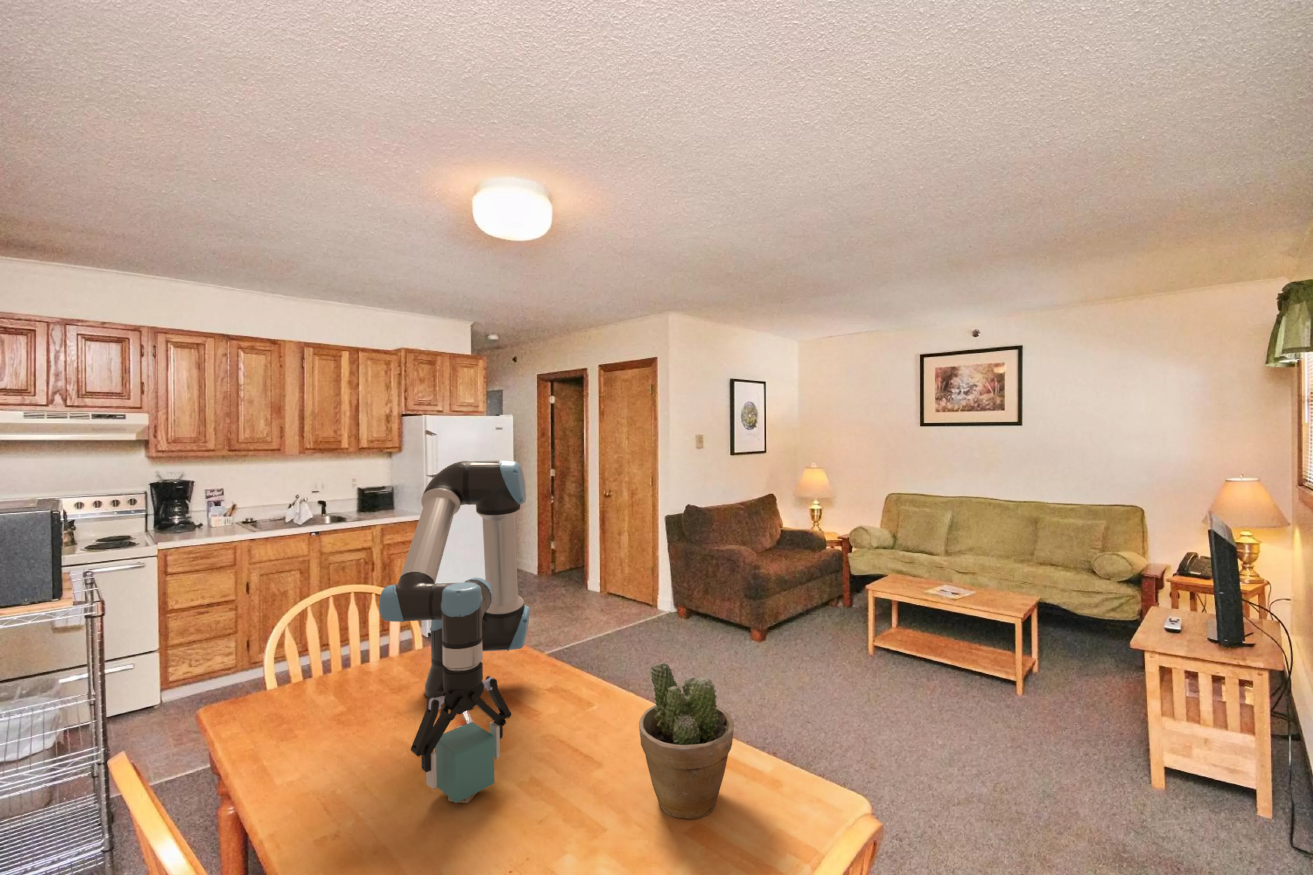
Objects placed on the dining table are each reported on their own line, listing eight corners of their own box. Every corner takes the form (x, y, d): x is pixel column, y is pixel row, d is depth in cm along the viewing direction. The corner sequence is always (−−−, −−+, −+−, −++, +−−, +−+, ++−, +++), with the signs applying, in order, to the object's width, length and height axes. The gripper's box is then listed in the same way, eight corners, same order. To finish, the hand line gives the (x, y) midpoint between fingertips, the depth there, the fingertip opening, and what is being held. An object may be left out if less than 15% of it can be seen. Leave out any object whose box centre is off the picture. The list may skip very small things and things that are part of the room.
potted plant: (743, 782, 118) (742, 660, 118) (723, 843, 101) (721, 700, 101) (657, 766, 124) (656, 650, 124) (625, 821, 107) (623, 686, 107)
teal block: (473, 767, 121) (472, 721, 121) (494, 783, 116) (493, 735, 115) (435, 785, 115) (434, 737, 115) (455, 802, 110) (455, 752, 109)
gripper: (507, 641, 127) (508, 738, 127) (390, 678, 109) (392, 790, 109) (527, 650, 122) (528, 750, 122) (408, 690, 103) (410, 808, 104)
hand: (464, 770), depth 115 cm, fingers open, 13 cm apart
